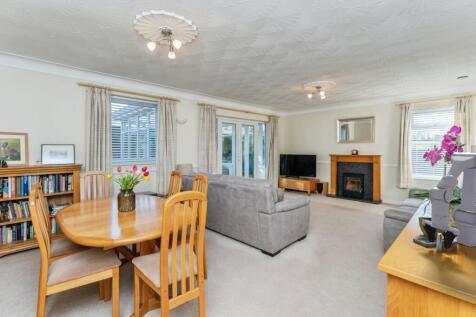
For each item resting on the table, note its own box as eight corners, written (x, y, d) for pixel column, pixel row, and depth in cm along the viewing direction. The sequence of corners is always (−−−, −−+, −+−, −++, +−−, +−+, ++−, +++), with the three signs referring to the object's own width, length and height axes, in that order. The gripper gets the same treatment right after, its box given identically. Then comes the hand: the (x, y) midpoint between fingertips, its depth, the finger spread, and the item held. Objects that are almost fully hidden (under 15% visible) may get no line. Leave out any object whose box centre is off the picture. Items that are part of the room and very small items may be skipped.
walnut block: (444, 245, 107) (445, 237, 107) (456, 250, 103) (457, 241, 102) (436, 246, 107) (436, 238, 106) (447, 251, 102) (448, 242, 101)
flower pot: (447, 240, 114) (448, 222, 113) (427, 239, 115) (427, 221, 115) (436, 234, 122) (436, 217, 122) (417, 233, 124) (417, 216, 124)
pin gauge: (438, 250, 103) (438, 232, 103) (443, 252, 101) (443, 234, 101) (434, 250, 103) (435, 233, 102) (439, 252, 101) (440, 234, 100)
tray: (426, 239, 115) (426, 237, 114) (441, 245, 108) (441, 242, 108) (413, 241, 113) (413, 238, 113) (427, 247, 106) (427, 244, 106)
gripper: (417, 211, 108) (416, 239, 108) (450, 220, 93) (449, 253, 94) (429, 210, 109) (428, 238, 110) (464, 219, 95) (463, 251, 95)
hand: (439, 244), depth 102 cm, fingers open, 6 cm apart
